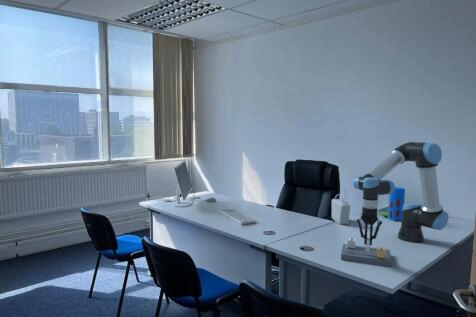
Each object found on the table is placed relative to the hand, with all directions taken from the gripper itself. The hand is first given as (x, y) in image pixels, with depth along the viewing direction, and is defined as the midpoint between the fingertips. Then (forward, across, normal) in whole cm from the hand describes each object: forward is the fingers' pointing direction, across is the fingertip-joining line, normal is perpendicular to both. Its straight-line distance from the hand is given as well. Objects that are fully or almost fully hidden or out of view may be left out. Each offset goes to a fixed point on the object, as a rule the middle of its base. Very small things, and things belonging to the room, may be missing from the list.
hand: (367, 250), depth 186 cm
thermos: (+6, -22, -102) cm, 104 cm away
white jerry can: (+6, +18, -77) cm, 79 cm away
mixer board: (+6, +1, -5) cm, 7 cm away
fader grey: (+2, +8, -10) cm, 13 cm away
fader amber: (+2, -7, 0) cm, 7 cm away
